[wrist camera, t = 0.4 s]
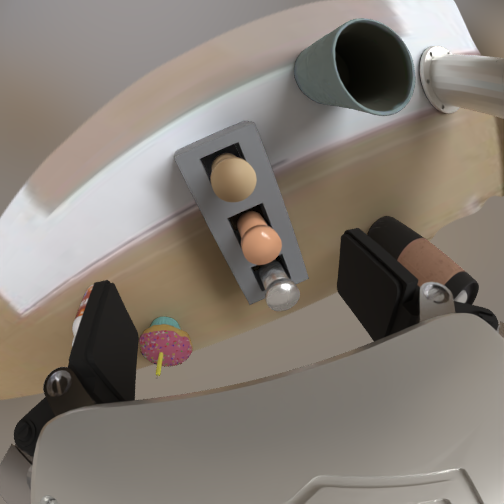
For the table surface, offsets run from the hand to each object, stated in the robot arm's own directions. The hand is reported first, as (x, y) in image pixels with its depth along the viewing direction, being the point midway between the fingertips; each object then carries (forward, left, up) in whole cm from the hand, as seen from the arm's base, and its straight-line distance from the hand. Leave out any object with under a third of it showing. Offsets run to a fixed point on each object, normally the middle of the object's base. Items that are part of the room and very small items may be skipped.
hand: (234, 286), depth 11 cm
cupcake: (+17, +21, -25) cm, 37 cm away
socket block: (-2, +8, -25) cm, 26 cm away
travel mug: (-23, +22, -25) cm, 41 cm away
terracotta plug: (-2, +8, -21) cm, 23 cm away
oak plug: (-2, +1, -21) cm, 21 cm away
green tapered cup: (-19, -6, -25) cm, 32 cm away
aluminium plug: (-2, +16, -21) cm, 26 cm away
